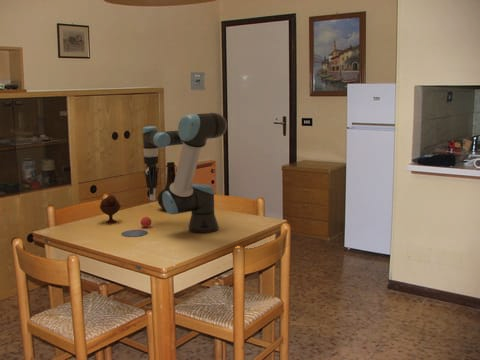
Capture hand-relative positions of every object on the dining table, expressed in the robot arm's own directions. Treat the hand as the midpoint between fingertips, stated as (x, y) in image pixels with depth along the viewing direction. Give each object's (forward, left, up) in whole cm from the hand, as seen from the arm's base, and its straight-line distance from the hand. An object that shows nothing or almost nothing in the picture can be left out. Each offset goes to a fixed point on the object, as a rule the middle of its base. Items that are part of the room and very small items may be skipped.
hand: (152, 199), depth 302 cm
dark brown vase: (+13, -29, -13) cm, 34 cm away
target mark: (-8, +21, -12) cm, 25 cm away
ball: (-4, +9, -10) cm, 14 cm away
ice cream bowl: (+20, +12, -13) cm, 27 cm away
